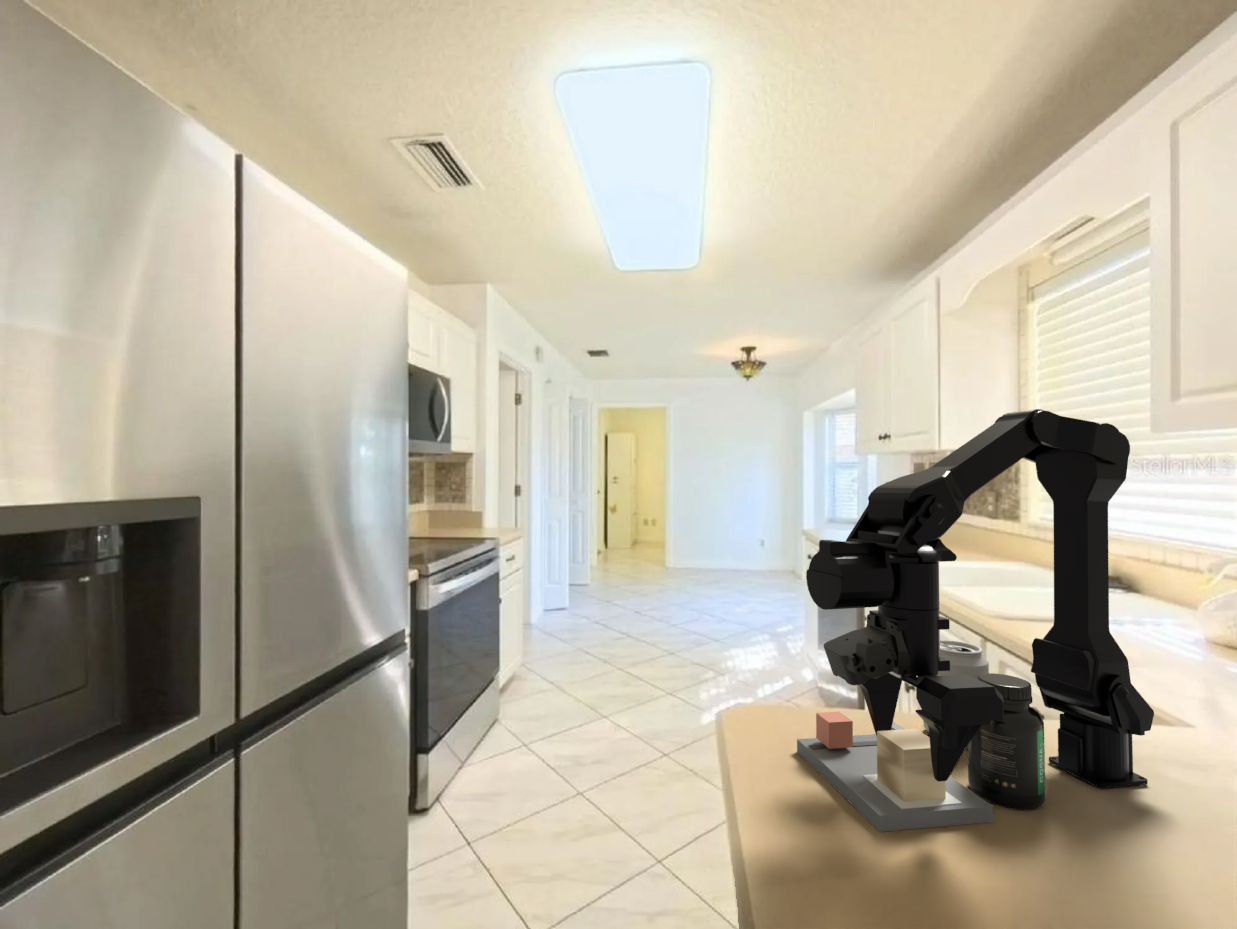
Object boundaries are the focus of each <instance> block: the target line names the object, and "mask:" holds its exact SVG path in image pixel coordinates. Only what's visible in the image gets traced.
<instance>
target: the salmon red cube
mask: <svg viewBox="0 0 1237 929" xmlns="http://www.w3.org/2000/svg"><path fill="white" fill-rule="evenodd" d="M815 714H816V715H815V716H816V718H815V720H816V721H815V722H816V724H815V725H816V726H815V727H816V728H815V729H816V730H815V731H816V732H815V733H816V735H815V738H817V739H818V740H819V741H821V742H822V743H823V744H824V745H825V746H826V747H828V748H829V749H833V748H848V747H853V736H854V735H853V731H854V728H853V726H854V725H853V724H854V723H853V722H854V721H853V719H851V718H850V717H847V715H845V714H844V713H842V712H840V711H825V712H821V711H820V712H816V713H815Z"/></svg>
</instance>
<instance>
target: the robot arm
mask: <svg viewBox="0 0 1237 929" xmlns="http://www.w3.org/2000/svg"><path fill="white" fill-rule="evenodd" d="M1130 454H1131V444H1130V441H1129V439H1128V437H1127V436H1126V435H1125V434H1124V433H1122V432H1121V431H1120V430H1119V428H1118V427H1116V426H1115V425H1113V424H1111V423H1107V422H1103V423H1099V422H1095V421H1090V420H1085V419H1079V418H1074V417H1067V416H1064V415H1059V414H1057V413H1055V412H1051V411H1049V410H1044V409H1041V408H1039V409H1038V408H1034V409H1027V410H1021V411H1012V412H1007V413H1004V414H1002V415H1001V416H998V418H997V419H996V420H995V421H994V423H993V424H991V425H990V426H988V427H987V428H986V429H984V430H983V431H981V432H979V433H978V434H977V435H976V436H974V437H972V438H971V439H970V440H968V441H966V442H965V443H964V444H962V445H961V446H959V447H958V448H957V449H954V451H952V452H951V453H949V454H948V455H947V456H945V457H944V458H941V460H939V461H938V462H936V463H935V464H933V465H932V466H930V467H927V468H925V469H923V470H921V471H917V472H914V473H910V474H906V475H902V476H900V477H897V478H894V479H892V480H890V481H887V482H885V483H883V484H880V485H878V486H877V487H876V488H874V489H873V490H872V491H871V492H870V494H869V495H868V497H867V500H868V503H867V506H866V508H865V509H864V511H862V512H863V513H862V514H861V516H860V517H859V519H858V520H857V521H856V524H855V525H854V527H853V528H852V529H851V531H850V533H849V534H848V536H847V538H846V539H845V541H841V540H833V539H820V540H819V542H818V552H816V553H815V554H814V555H813V557H811V560H810V562H809V564H808V569H806V576H805V577H806V585H807V589H808V593H809V595H810V597H811V599H812V601H813V603H814V604H815V605H816V607H818V608H820V609H821V610H825V611H827V610H841V609H842V610H845V609H860V608H861V609H863V608H876V607H877V610H869V614H867V615H866V626H865V627H862V628H860V629H853V630H851V631H849V632H847V633H844V634H842V635H840V636H837V637H835V638H833V639H830V640H827V641H826V642H825V643H824V644H823V650H824V652H825V654H826V658H827V659H828V663H829V667H830V669H831V673H832V674H833V675H834V676H835V677H839V678H841V679H843V680H844V681H845V682H846V683H847V684H848V685H850V686H859V687H860V690H861V693H862V695H863V698H864V701H865V704H866V707H867V711H868V713H869V716H870V719H871V720H870V721H871V724H872V726H873V729H874V732H875V734H876V736H877V731H887V730H891V727H892V723H893V722H894V718H895V712H896V710H897V705H898V704H897V703H898V700H899V696H900V691H901V687H902V686H901V685H902V682H905V683H907V684H909V685H911V686H912V687H915V689H916V690H915V691H916V695H915V698H916V700H917V703H918V704H919V706H920V708H921V709H915V710H914V711H915V713H916V714H917V715H918V716H919V717H920V718H921V719H922V722H923V721H924V722H925V723H926V724H927V725H928V728H929V732H928V735H929V736H928V737H929V738H930V749H931V760H932V768H933V774H934V778H935V780H937V781H947V780H948V778H949V776H950V777H951V775H952V773H953V771H954V770H955V768H956V766H957V765H958V762H959V760H960V759H961V757H962V756H963V754H964V752H965V750H967V748H968V747H967V746H968V744H969V743H970V741H971V740H972V738H973V737H974V736H975V734H976V733H977V732H978V731H979V729H980V728H981V727H982V725H986V724H992V721H994V720H1003V718H1004V708H1003V696H1002V694H1001V693H1000V692H999V691H998V690H997V689H996V688H995V687H994V686H992V685H989V684H987V683H985V682H982V681H980V680H978V679H975V678H973V677H971V676H968V675H951V676H937V675H938V671H950V660H947V659H945V658H942V657H940V640H941V637H940V636H941V634H940V632H941V631H943V630H950V619H949V618H947V617H943V616H941V615H940V562H941V563H943V562H955V561H957V558H958V557H957V554H956V553H954V552H953V551H952V550H951V549H950V548H948V547H947V546H946V545H945V544H944V542H943V541H942V540H941V538H942V536H944V535H945V534H946V533H947V532H948V531H949V530H950V529H951V527H953V525H954V524H955V523H956V522H957V521H958V520H960V518H961V517H962V515H963V511H964V507H965V502H966V501H968V499H969V498H970V497H971V496H972V495H974V494H976V492H978V491H979V490H980V489H982V488H983V487H985V486H986V485H988V484H989V483H991V482H992V481H993V480H994V479H996V478H997V477H998V476H1000V475H1001V474H1003V473H1004V472H1005V471H1007V470H1009V469H1010V468H1011V467H1012V466H1013V465H1015V464H1017V463H1018V462H1019V461H1021V460H1022V459H1023V460H1026V461H1029V462H1031V463H1034V464H1035V470H1036V477H1037V480H1038V481H1039V483H1040V484H1041V486H1042V487H1043V489H1044V490H1045V491H1046V493H1047V495H1048V496H1049V497H1050V499H1051V500H1052V504H1053V506H1052V507H1053V513H1052V514H1053V518H1052V519H1053V625H1052V626H1051V628H1050V629H1049V631H1047V633H1046V634H1045V635H1044V637H1043V638H1040V637H1039V638H1038V637H1035V638H1034V639H1033V641H1032V643H1031V649H1032V658H1033V659H1032V665H1031V669H1030V672H1031V673H1033V674H1034V678H1035V683H1036V686H1037V687H1038V688H1039V691H1040V692H1039V693H1040V696H1041V698H1042V702H1043V704H1044V707H1045V708H1048V709H1053V710H1056V711H1059V712H1061V713H1059V727H1058V728H1057V756H1055V755H1054V756H1049V757H1048V762H1049V763H1050V764H1053V765H1054V766H1056V767H1059V768H1060V769H1062V770H1064V771H1066V772H1068V773H1070V774H1072V775H1073V776H1075V777H1078V778H1079V779H1081V780H1083V781H1085V782H1087V783H1088V784H1091V785H1093V786H1094V787H1097V788H1101V789H1102V788H1104V789H1105V788H1114V787H1115V788H1116V787H1117V788H1119V787H1128V786H1140V785H1148V783H1149V782H1148V779H1147V778H1146V777H1144V776H1141V775H1140V774H1138V773H1136V772H1134V763H1133V762H1134V761H1133V760H1134V758H1133V757H1134V756H1133V751H1134V750H1133V735H1136V736H1145V735H1146V733H1145V732H1148V731H1151V729H1152V727H1153V726H1152V725H1153V720H1154V716H1155V712H1154V709H1153V708H1152V707H1151V706H1150V704H1149V703H1148V702H1147V701H1146V700H1145V698H1144V697H1143V696H1142V695H1141V693H1140V692H1139V691H1138V690H1137V688H1136V687H1135V686H1134V685H1133V684H1132V682H1131V674H1130V666H1129V660H1128V658H1127V655H1126V654H1125V653H1124V652H1123V650H1122V648H1121V647H1120V646H1119V644H1118V642H1117V640H1116V639H1115V638H1114V637H1113V635H1112V634H1111V631H1110V607H1109V606H1110V604H1109V603H1110V602H1109V601H1110V597H1109V596H1110V595H1109V594H1110V592H1109V591H1110V590H1109V587H1110V585H1109V582H1110V581H1109V580H1110V579H1109V573H1110V572H1109V571H1110V570H1109V502H1110V501H1111V499H1112V498H1113V497H1114V496H1115V495H1116V492H1118V490H1119V489H1120V487H1122V485H1123V483H1125V481H1126V479H1127V474H1128V471H1127V470H1128V464H1129V455H1130ZM940 630H941V631H940Z"/></svg>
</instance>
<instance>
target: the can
mask: <svg viewBox="0 0 1237 929" xmlns="http://www.w3.org/2000/svg"><path fill="white" fill-rule="evenodd" d="M983 652H984V650H983V649H982V647H980V646H978V645H975V644H973V643H968V642H964V641H959V640H958V641H957V640H950V639H949V640H948V639H940V657H942V658H945V659H947V660H950V671H938V675H937V676H951V675H968V676H971V677H973V678H975V679H978V675H980V674H985V673H990V668H989V667H990V663H989V661H988V660H987V659H986V658H985V656H984V655H983V654H982V653H983ZM922 722H923V728H924V729H925V730H926V731H927V732H928V733H929V728H928V725H927V724H926V723H925V722H924V721H923V720H922ZM966 748H968V746H967V747H966Z"/></svg>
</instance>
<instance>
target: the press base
mask: <svg viewBox="0 0 1237 929" xmlns="http://www.w3.org/2000/svg"><path fill="white" fill-rule="evenodd" d="M904 729H905V728H904V727H903V726H901V725H899V724H897V723H896V722H894V721H893V723H892V727H891V730H904ZM796 752H797V753H798V754H799V755H800V756H801V757H802V758H803V759H804V760H805V761H806V762H807V763H808V764H810V766H811V767H813V769H815V771H817V772H818V773H819V774H820V775H821V776H822V777H823V779H825V780H826V781H827V782H828V783H829V784H830V785H831V786H832V787H833V788H834V789H835V790H836V791H837V792H838V793H839V794H840V795H841V796H843V798H844V799H845V800H847V801H848V802H849V804H851V805H852V806H853V808H854V809H856V810H857V811H858V812H859V813H860V814H861V815H862V816H863V817H864V818H865V819H866V820H867V821H868V822H869V823H870V824H871V825H872V826H873V827H874V828H875V829H876V830H877V831H878V832H879V833H882V832H883V833H885V832H896V831H897V832H898V831H907V830H915V829H917V830H918V829H928V828H939V827H949V826H960V825H969V824H970V825H972V824H973V825H974V824H982V823H983V824H984V823H994V805H992V804H991V803H990V802H989V801H987V800H985V799H983V798H981V797H980V796H978V795H977V794H976V793H975V792H974V791H973V790H971V789H969V788H968V787H966V786H965V785H963V784H961V783H960V782H959V781H957V780H956V779H954V778H953V777H951V775H950V776H949V778H948V780H947V781H946V798H945V799H933V800H920V801H908V802H904V801H903V800H902V799H900V798H899V797H898V796H897V795H896V794H894V793H893V792H892V791H891V790H890V789H888V788H887V787H886V786H885V785H884V784H882V783H881V782H880V781H879V780H878V779H877V736H876V733H875V734H874V733H873V734H861V735H859V734H858V735H857V734H856V735H853V747H848V748H833V749H829V748H828V747H826V746H825V745H824V744H823V743H822V742H821V741H819V740H818V739H817V738H816V737H812V738H811V737H808V738H797V739H796Z"/></svg>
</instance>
